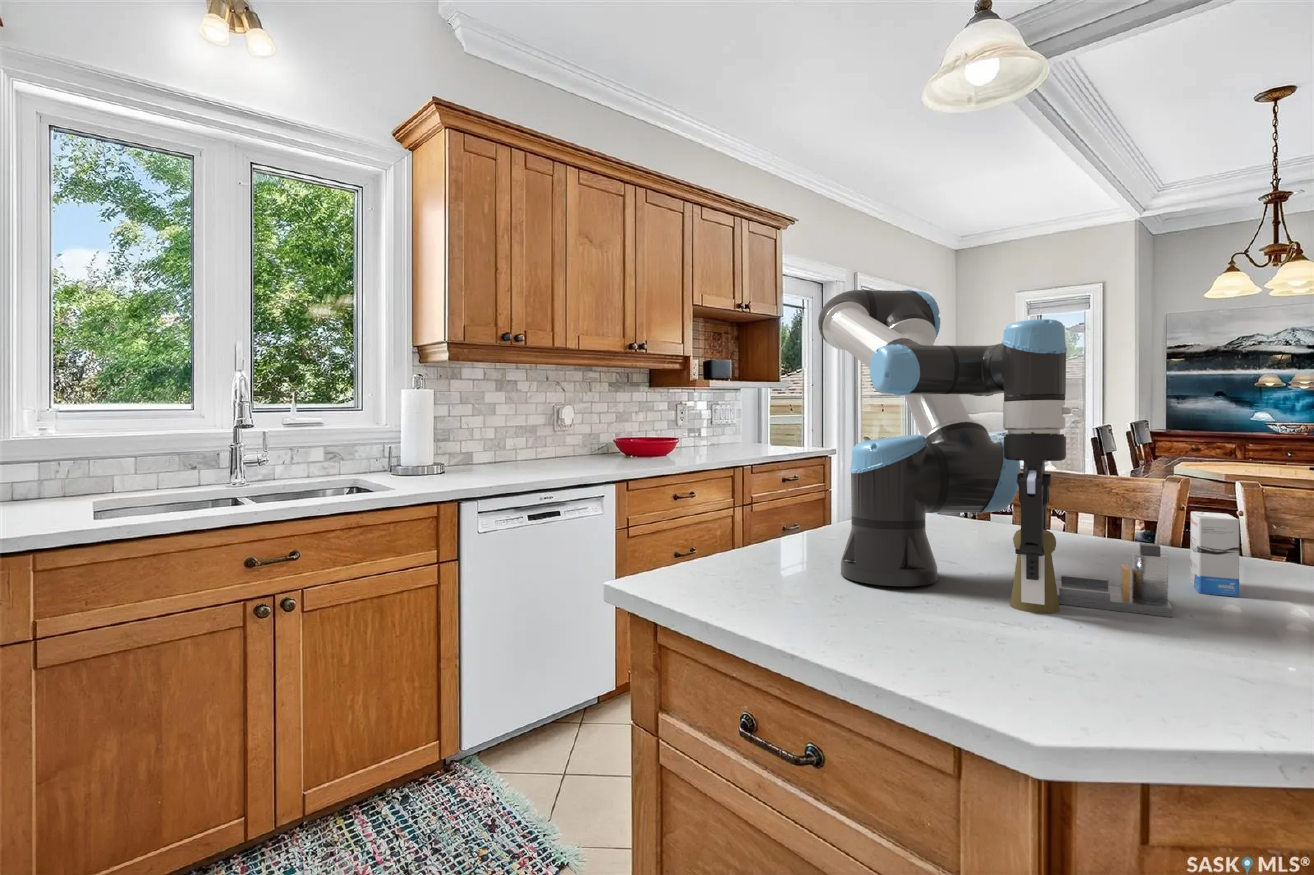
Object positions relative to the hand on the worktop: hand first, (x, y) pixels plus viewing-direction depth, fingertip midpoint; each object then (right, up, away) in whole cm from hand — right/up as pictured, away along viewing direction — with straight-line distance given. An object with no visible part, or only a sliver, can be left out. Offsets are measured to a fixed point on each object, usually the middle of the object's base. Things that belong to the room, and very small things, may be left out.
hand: (1034, 597), depth 91 cm
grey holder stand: (+12, -1, +3) cm, 12 cm away
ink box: (+33, -2, +10) cm, 35 cm away
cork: (0, -2, 0) cm, 2 cm away
